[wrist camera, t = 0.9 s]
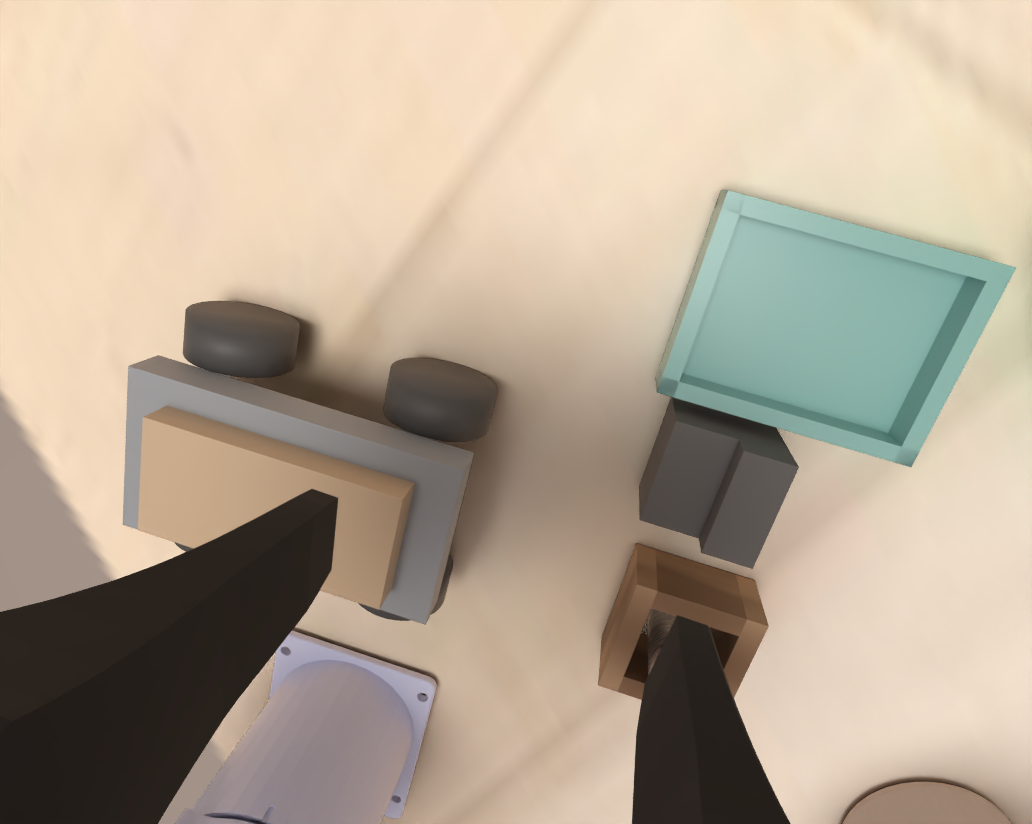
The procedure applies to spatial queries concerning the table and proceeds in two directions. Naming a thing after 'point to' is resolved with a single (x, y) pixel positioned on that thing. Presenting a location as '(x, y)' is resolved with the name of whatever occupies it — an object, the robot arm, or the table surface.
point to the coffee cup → (925, 806)
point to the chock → (716, 480)
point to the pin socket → (687, 594)
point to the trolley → (303, 455)
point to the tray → (826, 326)
